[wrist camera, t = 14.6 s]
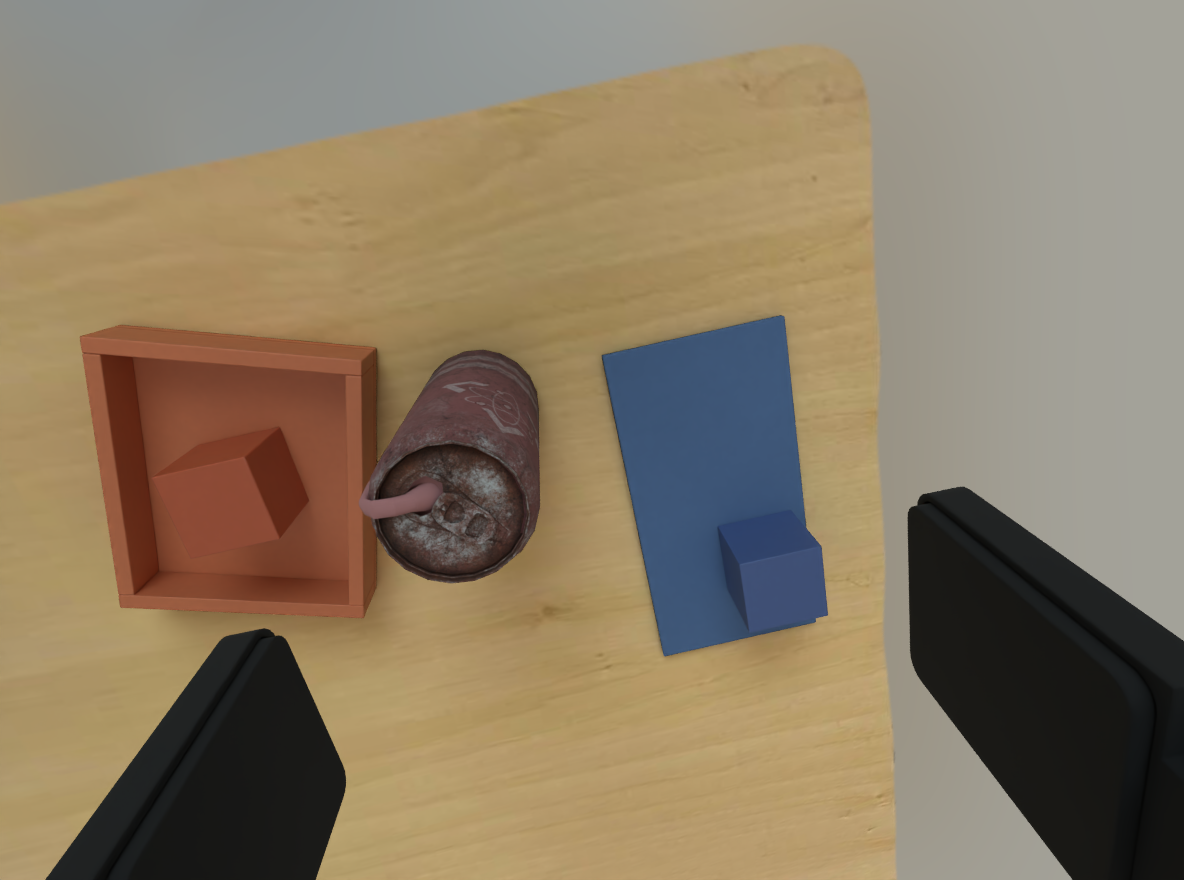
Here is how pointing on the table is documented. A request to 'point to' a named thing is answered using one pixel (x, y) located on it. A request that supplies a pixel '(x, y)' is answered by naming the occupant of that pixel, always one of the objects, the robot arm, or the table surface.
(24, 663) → the table surface
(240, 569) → the terracotta tray
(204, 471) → the terracotta block
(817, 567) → the blue block
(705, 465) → the blue mat
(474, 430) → the can
